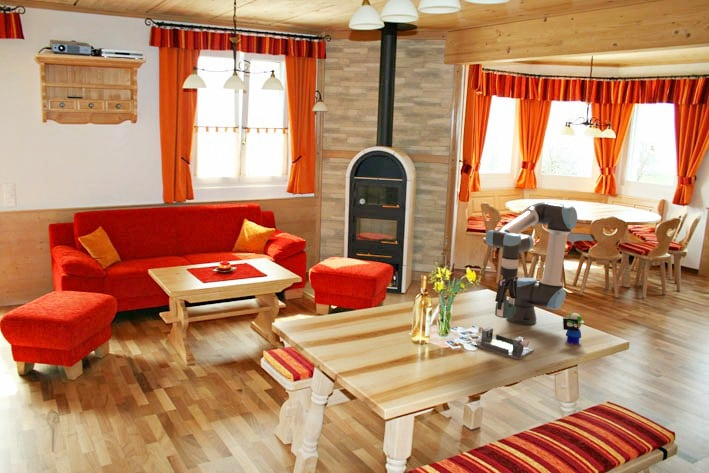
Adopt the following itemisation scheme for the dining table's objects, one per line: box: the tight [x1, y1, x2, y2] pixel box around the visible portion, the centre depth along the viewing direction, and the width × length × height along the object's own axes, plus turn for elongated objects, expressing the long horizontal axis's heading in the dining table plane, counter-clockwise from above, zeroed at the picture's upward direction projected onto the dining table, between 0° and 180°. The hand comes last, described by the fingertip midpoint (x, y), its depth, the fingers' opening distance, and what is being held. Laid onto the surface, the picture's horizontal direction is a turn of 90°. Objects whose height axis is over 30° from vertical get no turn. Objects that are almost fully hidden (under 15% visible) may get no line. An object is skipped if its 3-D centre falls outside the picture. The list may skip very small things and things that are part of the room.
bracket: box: [494, 294, 516, 319], centre depth 290 cm, size 9×9×9 cm
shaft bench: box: [473, 326, 535, 361], centre depth 293 cm, size 15×25×7 cm, turn 47°
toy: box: [562, 312, 585, 345], centre depth 303 cm, size 9×9×15 cm
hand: (505, 313), depth 290 cm, fingers closed on bracket, 9 cm apart
